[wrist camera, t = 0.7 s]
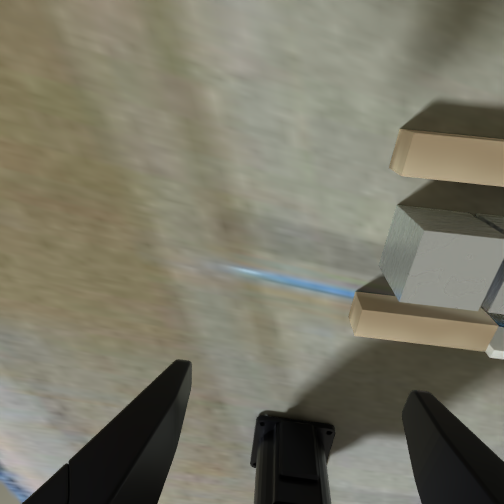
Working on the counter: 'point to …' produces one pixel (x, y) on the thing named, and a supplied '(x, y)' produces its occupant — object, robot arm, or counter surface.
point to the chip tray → (496, 345)
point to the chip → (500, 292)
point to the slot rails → (424, 316)
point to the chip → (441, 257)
